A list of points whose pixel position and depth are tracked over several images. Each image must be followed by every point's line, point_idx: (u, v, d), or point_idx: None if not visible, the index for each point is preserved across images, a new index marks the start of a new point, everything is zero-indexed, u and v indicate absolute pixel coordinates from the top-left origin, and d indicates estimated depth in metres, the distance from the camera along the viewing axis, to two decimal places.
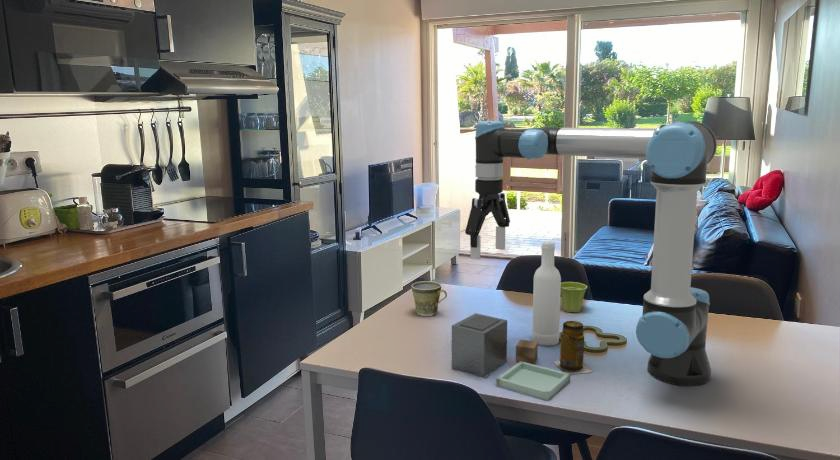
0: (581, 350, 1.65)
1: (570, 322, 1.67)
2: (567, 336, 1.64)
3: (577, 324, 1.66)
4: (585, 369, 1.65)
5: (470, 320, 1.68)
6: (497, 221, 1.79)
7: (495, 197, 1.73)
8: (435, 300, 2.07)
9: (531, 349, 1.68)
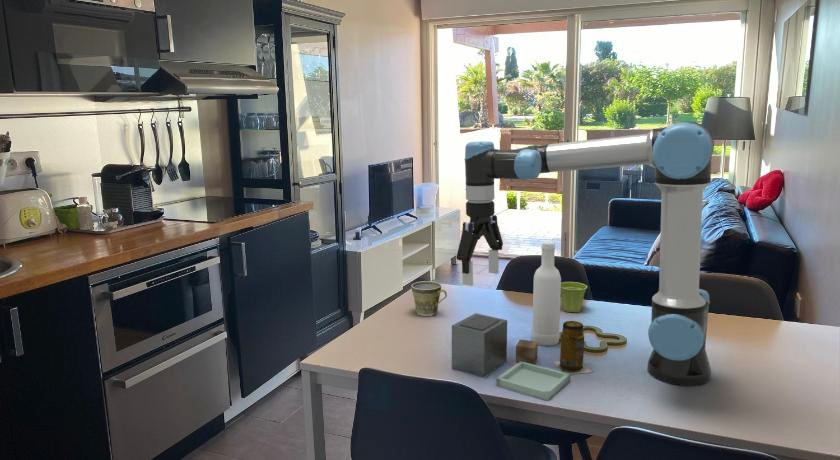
0: (581, 350, 1.65)
1: (570, 322, 1.67)
2: (567, 336, 1.64)
3: (577, 324, 1.66)
4: (585, 369, 1.65)
5: (470, 320, 1.68)
6: (490, 244, 1.73)
7: (487, 220, 1.67)
8: (435, 300, 2.07)
9: (531, 349, 1.68)
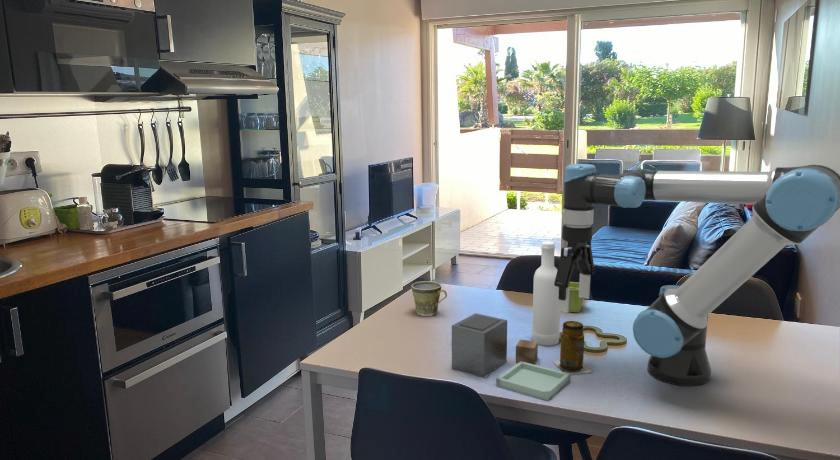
0: (581, 350, 1.65)
1: (570, 322, 1.67)
2: (567, 336, 1.64)
3: (577, 324, 1.66)
4: (585, 369, 1.65)
5: (470, 320, 1.68)
6: (582, 268, 1.67)
7: (583, 245, 1.61)
8: (435, 300, 2.07)
9: (531, 349, 1.68)
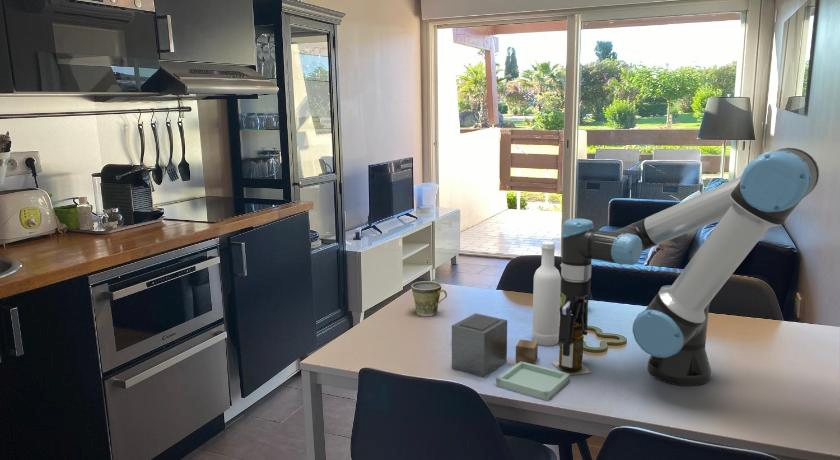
0: (580, 350, 1.64)
1: None
2: None
3: (576, 324, 1.65)
4: (584, 369, 1.65)
5: (470, 320, 1.68)
6: None
7: (581, 295, 1.64)
8: (435, 300, 2.07)
9: (531, 349, 1.68)
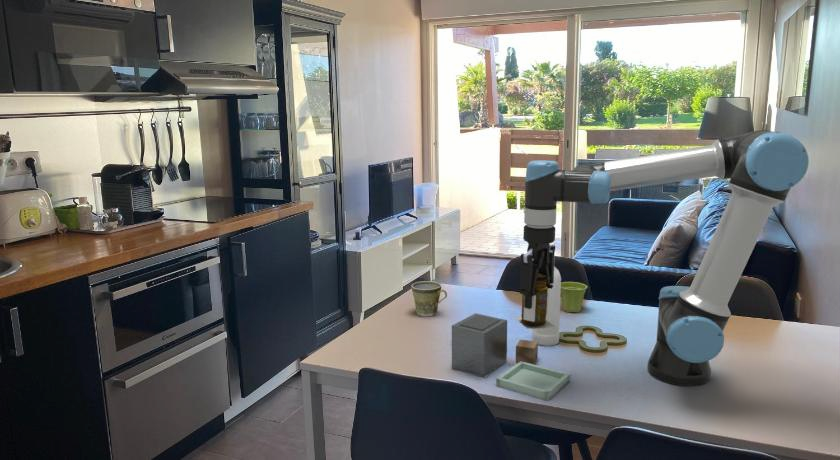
0: (543, 303, 1.53)
1: None
2: None
3: (540, 276, 1.53)
4: (548, 324, 1.53)
5: (470, 320, 1.68)
6: None
7: (546, 244, 1.52)
8: (435, 300, 2.07)
9: (531, 349, 1.68)
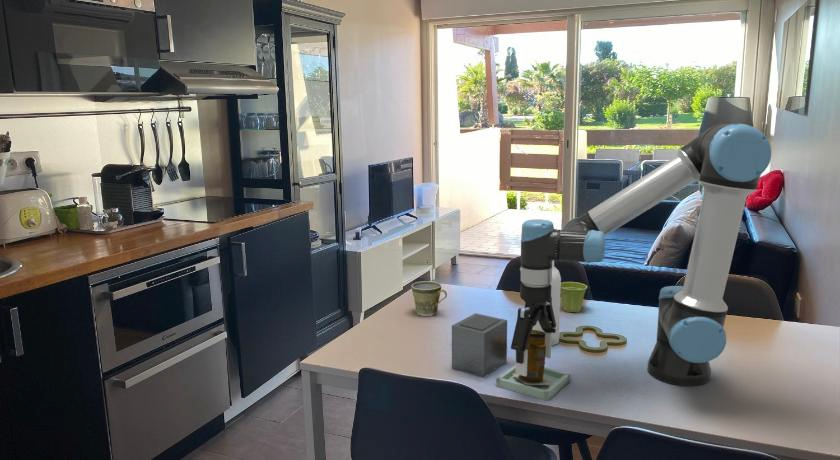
0: (542, 360, 1.55)
1: (532, 331, 1.58)
2: (527, 344, 1.55)
3: (539, 333, 1.57)
4: (545, 382, 1.55)
5: (470, 320, 1.68)
6: (542, 326, 1.60)
7: (542, 303, 1.54)
8: (435, 300, 2.07)
9: None
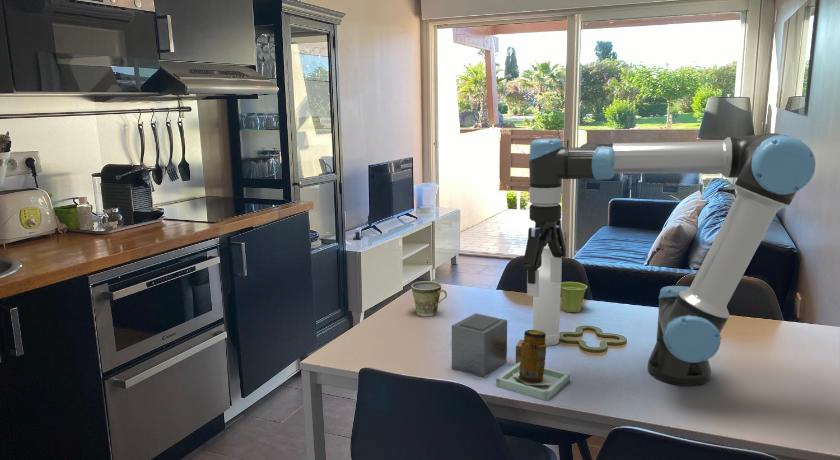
0: (542, 361, 1.55)
1: (532, 331, 1.58)
2: (528, 344, 1.55)
3: (539, 333, 1.57)
4: (545, 382, 1.55)
5: (470, 320, 1.68)
6: (552, 251, 1.58)
7: (552, 225, 1.52)
8: (435, 300, 2.07)
9: None
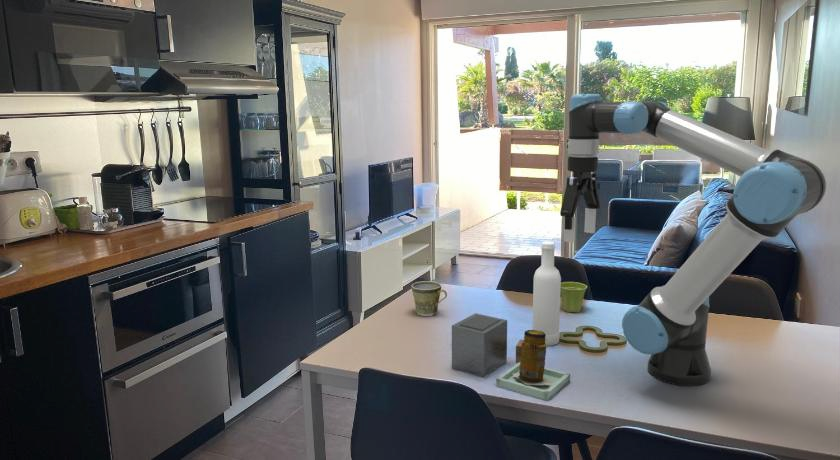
0: (542, 361, 1.55)
1: (532, 331, 1.58)
2: (528, 344, 1.55)
3: (539, 333, 1.57)
4: (545, 382, 1.55)
5: (470, 320, 1.68)
6: (587, 202, 1.68)
7: (588, 176, 1.62)
8: (435, 300, 2.07)
9: None
